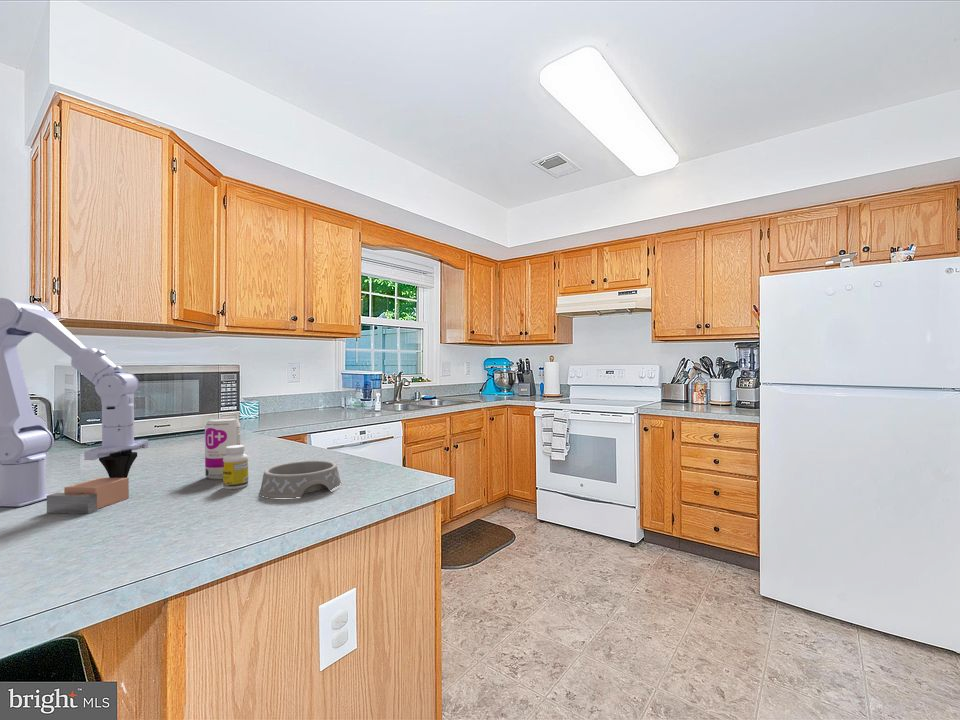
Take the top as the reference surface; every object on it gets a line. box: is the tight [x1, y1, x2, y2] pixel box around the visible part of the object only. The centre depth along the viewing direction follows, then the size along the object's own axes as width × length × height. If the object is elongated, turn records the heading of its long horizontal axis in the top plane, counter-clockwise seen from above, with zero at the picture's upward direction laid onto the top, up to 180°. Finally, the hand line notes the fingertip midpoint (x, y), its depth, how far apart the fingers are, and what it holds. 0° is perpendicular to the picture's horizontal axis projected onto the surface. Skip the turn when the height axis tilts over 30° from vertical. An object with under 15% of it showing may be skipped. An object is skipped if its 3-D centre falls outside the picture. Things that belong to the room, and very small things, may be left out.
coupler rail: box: [46, 492, 98, 515], centre depth 99 cm, size 9×13×4 cm
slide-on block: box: [63, 477, 130, 510], centre depth 99 cm, size 7×8×4 cm
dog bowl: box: [258, 460, 342, 499], centre depth 109 cm, size 17×18×5 cm
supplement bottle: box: [222, 444, 249, 490], centre depth 111 cm, size 5×5×10 cm
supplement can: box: [204, 417, 242, 480], centre depth 122 cm, size 8×8×15 cm
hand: (118, 485), depth 104 cm, fingers closed
